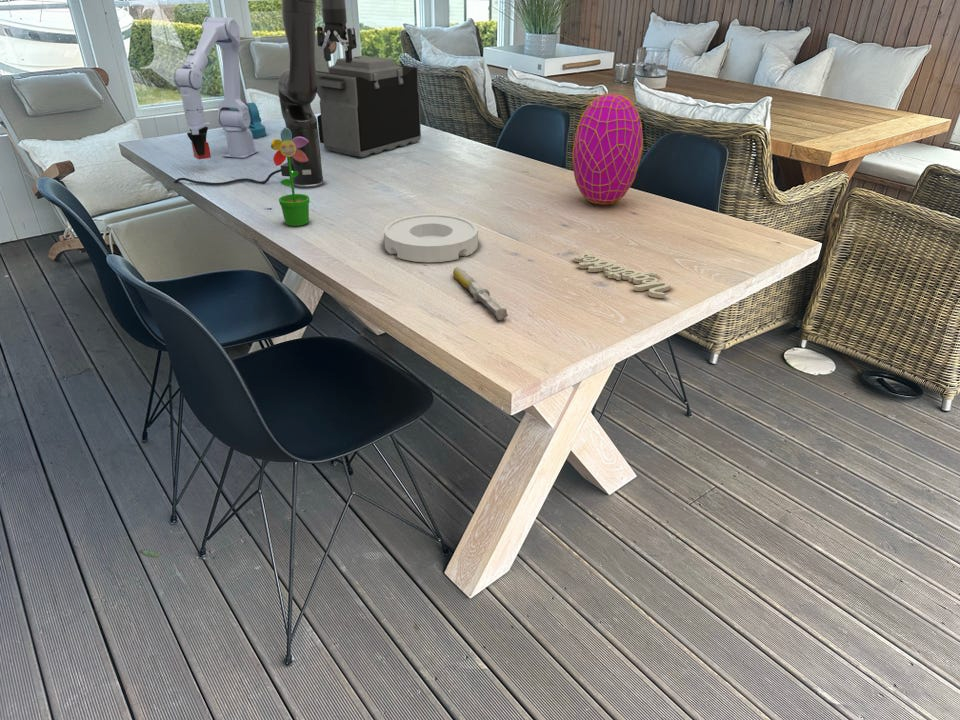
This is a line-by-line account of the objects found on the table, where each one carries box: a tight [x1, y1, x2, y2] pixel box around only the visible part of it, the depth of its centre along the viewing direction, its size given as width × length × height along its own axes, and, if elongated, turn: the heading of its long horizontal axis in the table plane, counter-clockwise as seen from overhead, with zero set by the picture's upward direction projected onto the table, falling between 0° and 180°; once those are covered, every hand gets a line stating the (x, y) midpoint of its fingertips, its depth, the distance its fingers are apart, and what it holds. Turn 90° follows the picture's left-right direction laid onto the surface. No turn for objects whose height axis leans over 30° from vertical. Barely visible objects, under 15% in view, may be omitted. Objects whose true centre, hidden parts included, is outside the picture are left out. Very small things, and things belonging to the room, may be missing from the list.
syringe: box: [452, 266, 509, 321], centre depth 145 cm, size 25×4×3 cm, turn 21°
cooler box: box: [316, 55, 422, 159], centre depth 250 cm, size 37×22×30 cm, turn 144°
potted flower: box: [270, 127, 310, 227], centre depth 177 cm, size 9×8×25 cm
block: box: [190, 140, 212, 160], centre depth 224 cm, size 4×4×5 cm
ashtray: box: [383, 213, 479, 263], centre depth 170 cm, size 23×23×4 cm
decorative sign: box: [574, 252, 671, 299], centre depth 155 cm, size 26×1×10 cm
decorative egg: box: [571, 92, 644, 205], centre depth 194 cm, size 19×19×30 cm
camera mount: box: [230, 102, 267, 139], centre depth 271 cm, size 18×10×10 cm, turn 35°
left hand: (201, 152), depth 224 cm, fingers closed on block, 5 cm apart
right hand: (338, 61), depth 227 cm, fingers open, 8 cm apart
